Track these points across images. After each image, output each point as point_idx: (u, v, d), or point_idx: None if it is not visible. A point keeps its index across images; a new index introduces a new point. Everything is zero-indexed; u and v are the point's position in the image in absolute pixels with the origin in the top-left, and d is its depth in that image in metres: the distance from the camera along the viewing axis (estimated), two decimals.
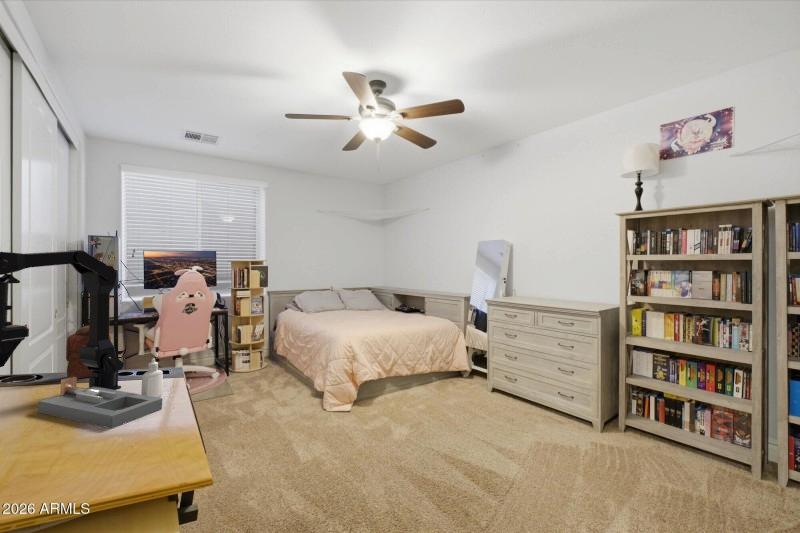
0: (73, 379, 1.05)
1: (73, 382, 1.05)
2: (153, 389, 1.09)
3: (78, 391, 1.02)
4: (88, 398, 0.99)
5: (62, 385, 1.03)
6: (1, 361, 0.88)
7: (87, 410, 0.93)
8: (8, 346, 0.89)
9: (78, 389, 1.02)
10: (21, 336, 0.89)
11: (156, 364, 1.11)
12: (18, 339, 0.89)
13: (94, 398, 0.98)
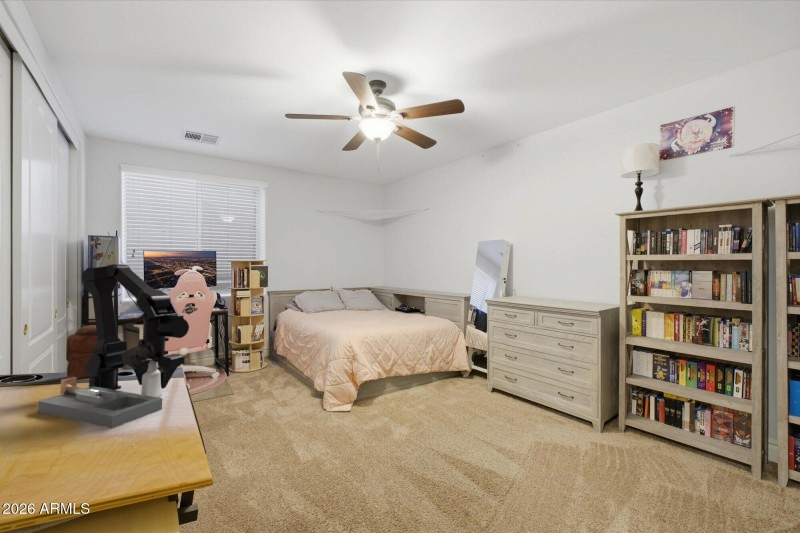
0: (73, 379, 1.05)
1: (73, 382, 1.05)
2: (153, 389, 1.09)
3: (78, 391, 1.02)
4: (88, 398, 0.99)
5: (62, 385, 1.03)
6: (164, 383, 1.09)
7: (87, 410, 0.93)
8: (169, 371, 1.10)
9: (78, 389, 1.02)
10: (181, 363, 1.09)
11: (156, 364, 1.11)
12: (177, 365, 1.10)
13: (94, 398, 0.98)
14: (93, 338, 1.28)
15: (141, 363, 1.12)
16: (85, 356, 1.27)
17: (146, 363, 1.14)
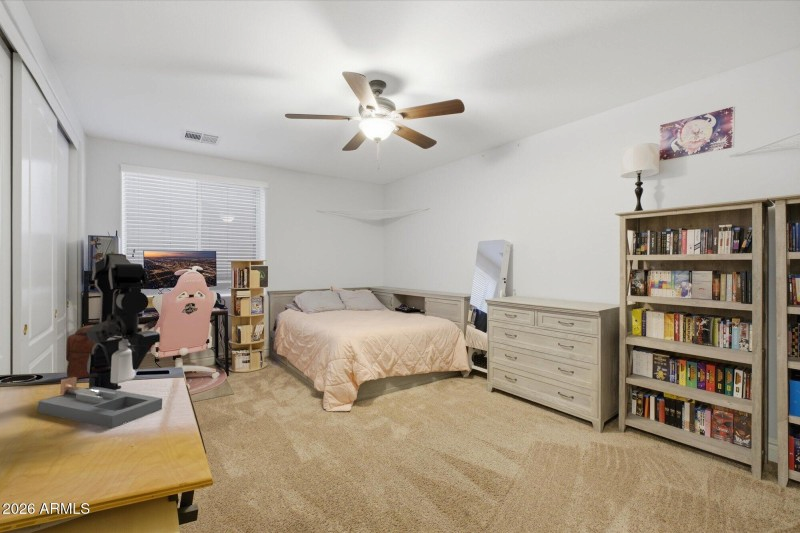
0: (73, 379, 1.05)
1: (73, 382, 1.05)
2: (125, 370, 0.97)
3: (78, 391, 1.02)
4: (88, 398, 0.99)
5: (62, 385, 1.03)
6: (136, 364, 0.97)
7: (87, 410, 0.93)
8: (142, 350, 0.97)
9: (78, 389, 1.02)
10: (155, 341, 0.97)
11: (128, 342, 0.98)
12: (151, 344, 0.98)
13: (94, 398, 0.98)
14: None
15: (111, 341, 1.00)
16: (85, 356, 1.27)
17: (117, 342, 1.01)
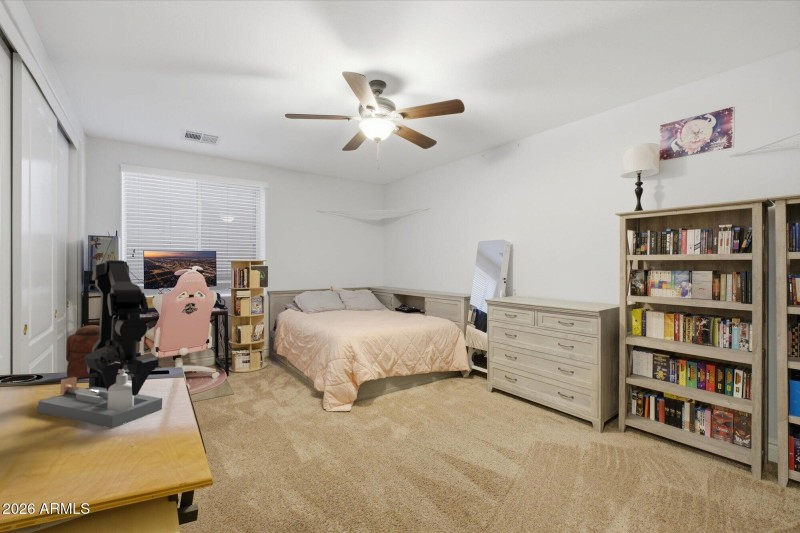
0: (73, 379, 1.05)
1: (73, 382, 1.05)
2: (114, 405, 0.96)
3: (78, 391, 1.02)
4: (88, 398, 0.99)
5: (62, 385, 1.03)
6: (136, 390, 0.96)
7: (87, 410, 0.93)
8: (142, 376, 0.97)
9: (78, 389, 1.02)
10: (154, 367, 0.97)
11: (121, 377, 0.97)
12: (151, 369, 0.97)
13: (94, 398, 0.98)
14: (93, 338, 1.28)
15: (109, 366, 1.00)
16: None
17: (116, 366, 1.01)
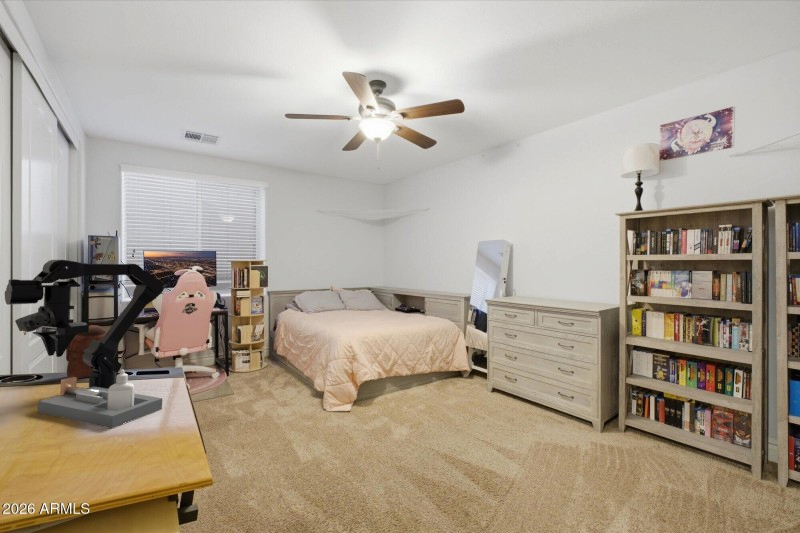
0: (73, 379, 1.05)
1: (73, 382, 1.05)
2: (113, 405, 0.96)
3: (78, 391, 1.02)
4: (88, 398, 0.99)
5: (62, 385, 1.03)
6: (60, 351, 1.05)
7: (87, 410, 0.93)
8: (65, 339, 1.06)
9: (78, 389, 1.02)
10: (84, 331, 1.05)
11: (121, 377, 0.97)
12: (74, 333, 1.06)
13: (94, 398, 0.98)
14: (93, 338, 1.28)
15: (51, 333, 1.07)
16: None
17: (57, 333, 1.08)
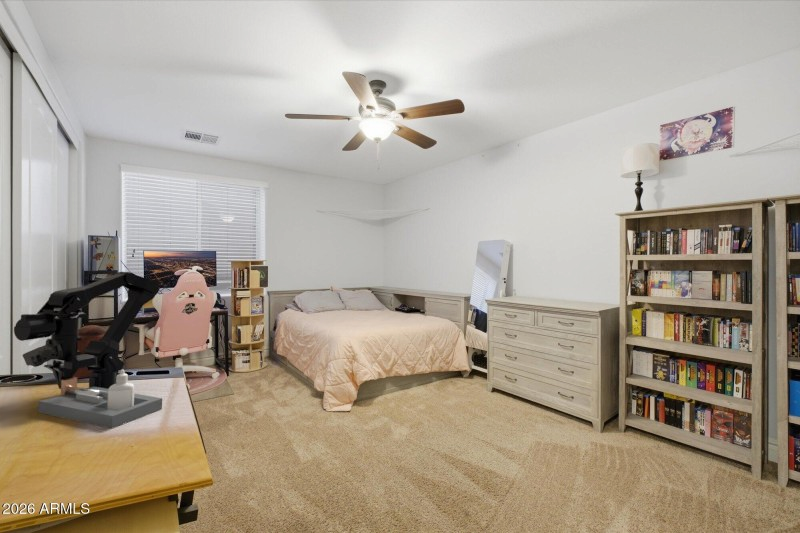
0: (74, 379, 1.04)
1: (74, 382, 1.05)
2: (113, 405, 0.96)
3: (78, 392, 1.02)
4: (88, 398, 0.99)
5: (63, 385, 1.03)
6: None
7: (87, 410, 0.93)
8: (69, 371, 1.05)
9: (79, 389, 1.02)
10: (91, 364, 1.03)
11: (121, 377, 0.97)
12: None
13: (94, 398, 0.98)
14: (93, 338, 1.28)
15: None
16: None
17: None
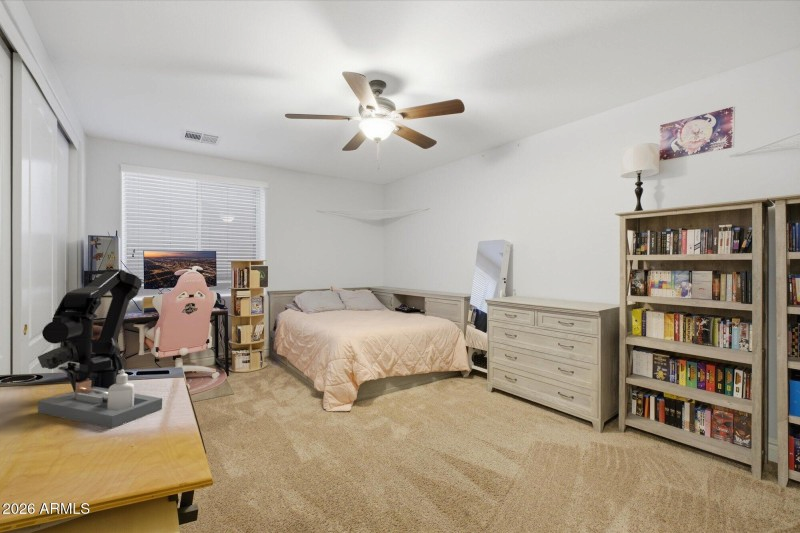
0: (88, 382, 1.03)
1: (88, 385, 1.03)
2: (113, 405, 0.96)
3: (93, 394, 1.00)
4: (88, 398, 0.99)
5: (77, 388, 1.01)
6: None
7: (87, 410, 0.93)
8: (83, 373, 1.03)
9: (93, 392, 1.00)
10: (106, 367, 1.02)
11: (121, 377, 0.97)
12: None
13: (94, 398, 0.98)
14: (93, 338, 1.28)
15: None
16: None
17: None
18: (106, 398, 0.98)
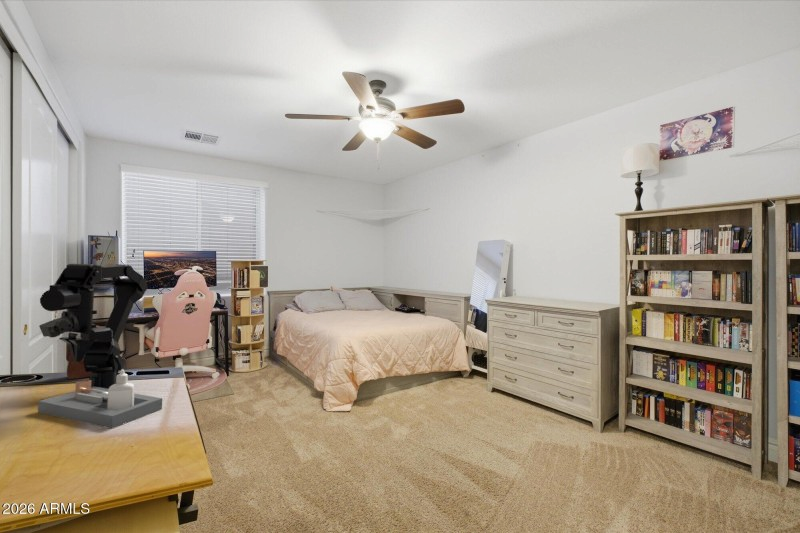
0: (88, 382, 1.03)
1: (88, 385, 1.03)
2: (113, 405, 0.96)
3: (93, 394, 1.00)
4: (88, 398, 0.99)
5: (77, 388, 1.01)
6: (79, 356, 1.04)
7: (87, 410, 0.93)
8: (85, 344, 1.05)
9: (93, 392, 1.00)
10: (107, 337, 1.03)
11: (121, 377, 0.97)
12: None
13: (94, 398, 0.98)
14: None
15: None
16: None
17: None
18: (106, 398, 0.98)
